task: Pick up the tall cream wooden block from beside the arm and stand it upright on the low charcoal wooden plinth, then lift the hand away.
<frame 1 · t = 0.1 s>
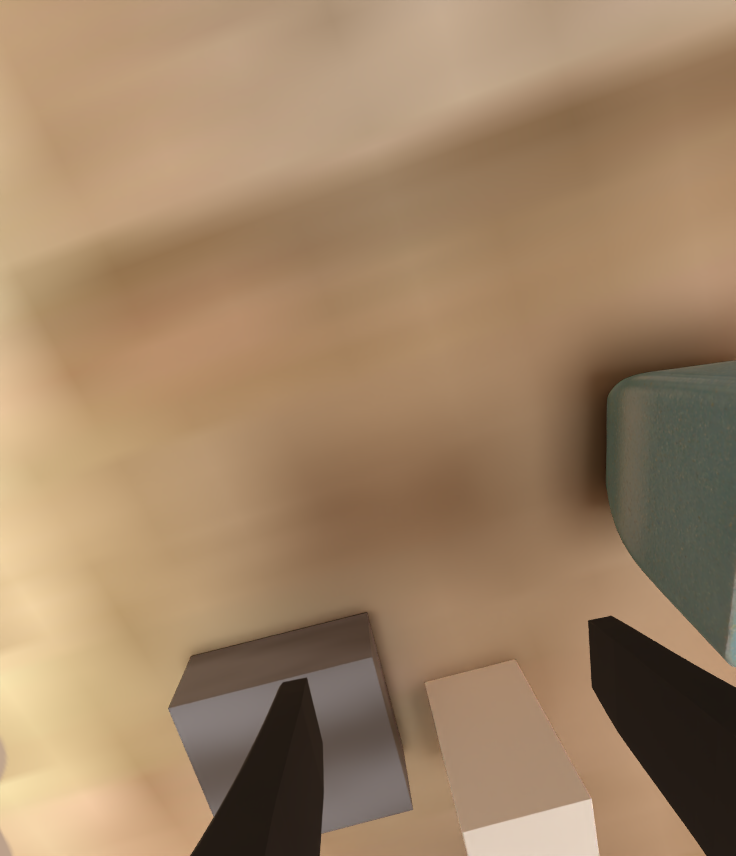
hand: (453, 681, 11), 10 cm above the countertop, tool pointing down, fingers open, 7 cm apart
flower pot: (652, 435, 21), on the countertop
cream block: (477, 707, 23), on the countertop
charcoal plinth: (302, 705, 22), on the countertop
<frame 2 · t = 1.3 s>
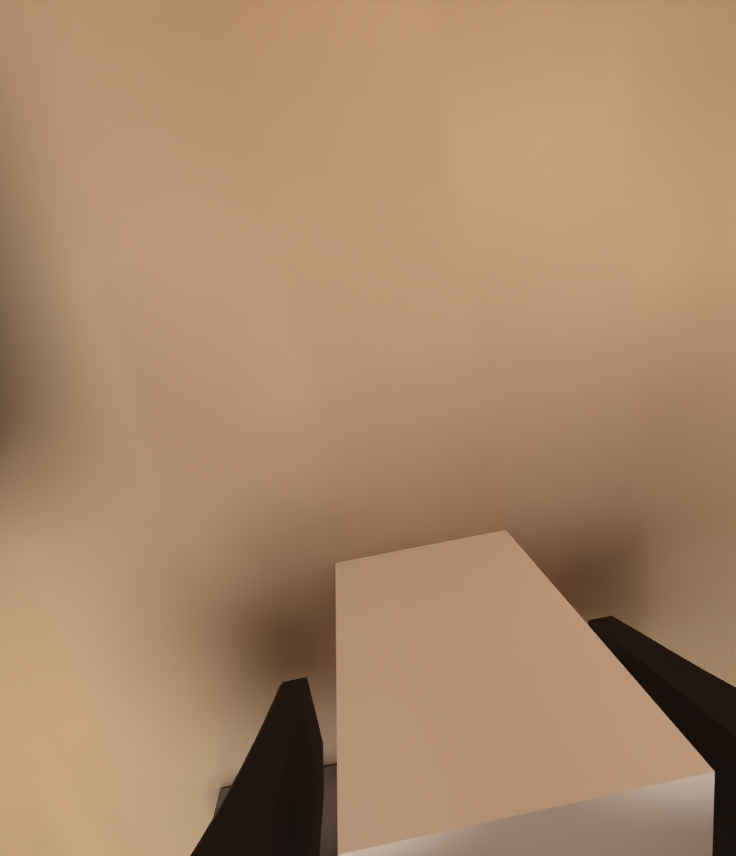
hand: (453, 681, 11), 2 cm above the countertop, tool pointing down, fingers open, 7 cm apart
cream block: (432, 619, 13), on the countertop
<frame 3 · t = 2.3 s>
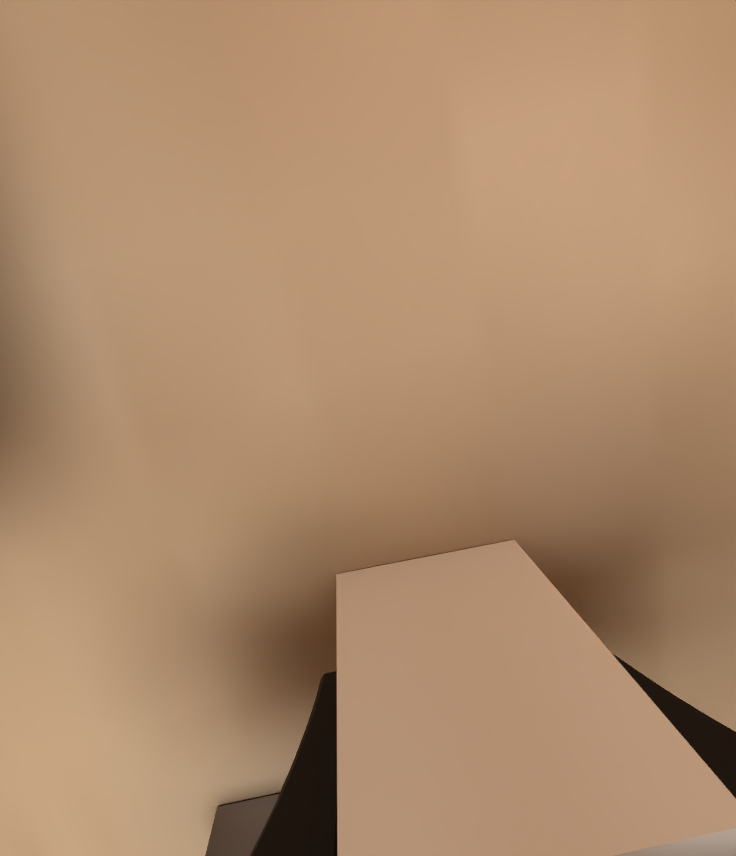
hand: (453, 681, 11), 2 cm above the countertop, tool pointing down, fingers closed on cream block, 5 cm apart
cream block: (437, 633, 12), on the countertop, touching gripper
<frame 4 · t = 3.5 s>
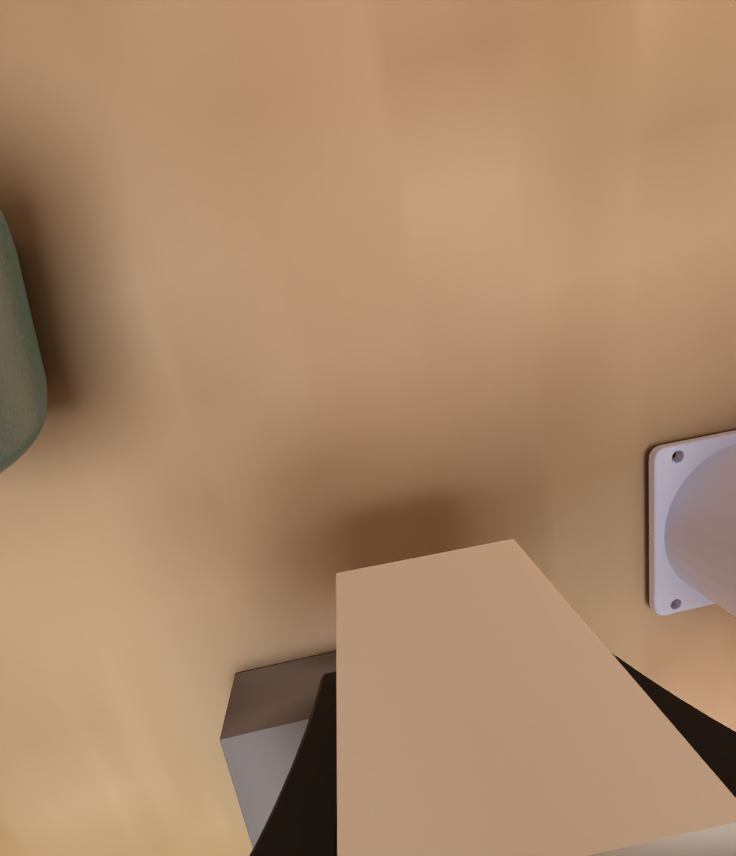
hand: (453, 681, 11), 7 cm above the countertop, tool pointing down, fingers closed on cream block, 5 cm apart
cream block: (437, 632, 12), point 5 cm above the countertop, touching gripper
charcoal plinth: (358, 733, 19), on the countertop
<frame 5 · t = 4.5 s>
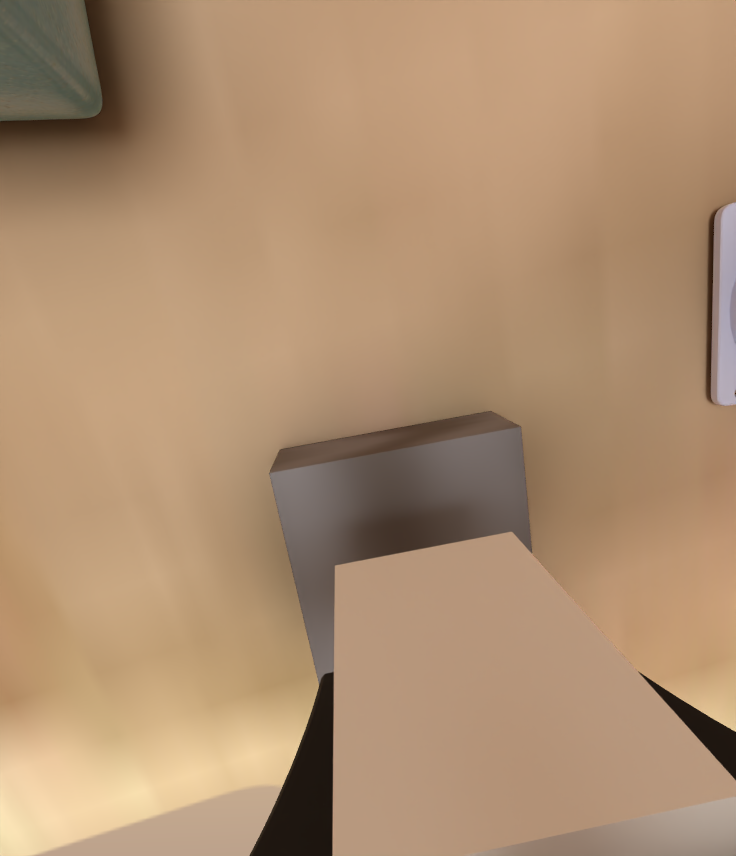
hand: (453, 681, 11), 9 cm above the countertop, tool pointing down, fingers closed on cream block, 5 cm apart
flower pot: (17, 36, 14), on the countertop
cream block: (435, 626, 12), point 7 cm above the countertop, touching gripper
charcoal plinth: (402, 527, 19), on the countertop
when the fingers open (6 cm above the countertop, at t = 5.8 s): cream block drops 1 cm, resting on charcoal plinth.
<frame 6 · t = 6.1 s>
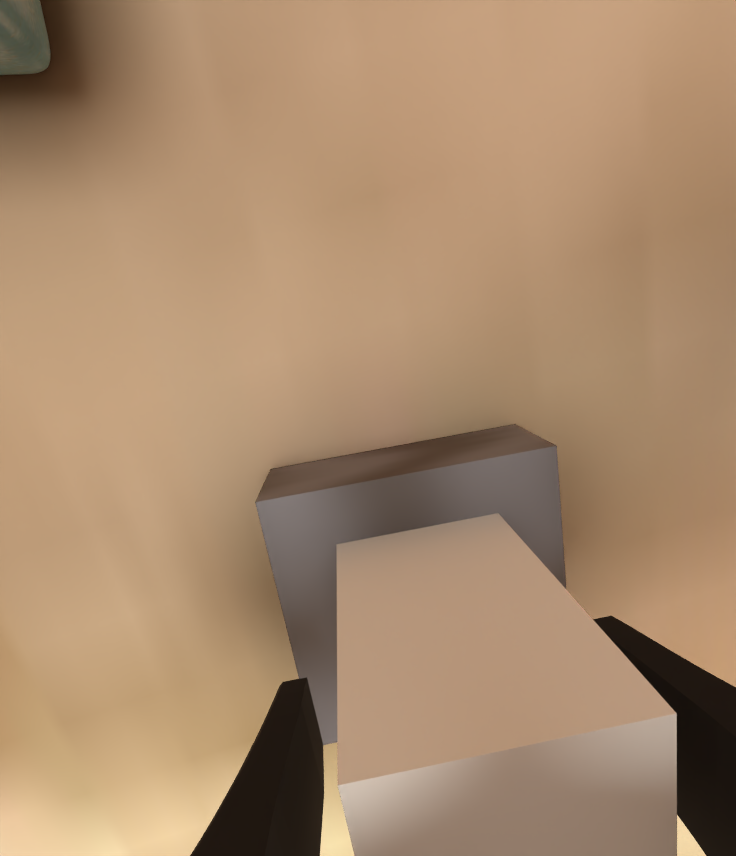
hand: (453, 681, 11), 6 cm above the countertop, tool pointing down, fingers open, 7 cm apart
cream block: (429, 600, 14), point 3 cm above the countertop, touching charcoal plinth
charcoal plinth: (411, 557, 16), on the countertop
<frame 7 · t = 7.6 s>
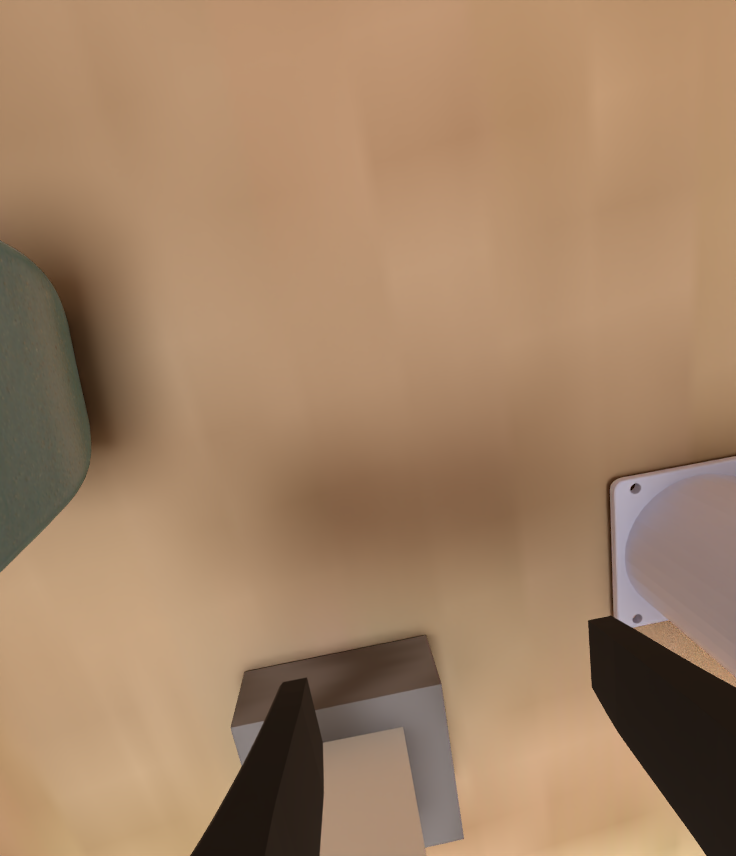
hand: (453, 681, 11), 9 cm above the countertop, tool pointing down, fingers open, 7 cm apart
flower pot: (20, 374, 17), on the countertop
cream block: (354, 782, 19), point 3 cm above the countertop, touching charcoal plinth
charcoal plinth: (351, 726, 22), on the countertop
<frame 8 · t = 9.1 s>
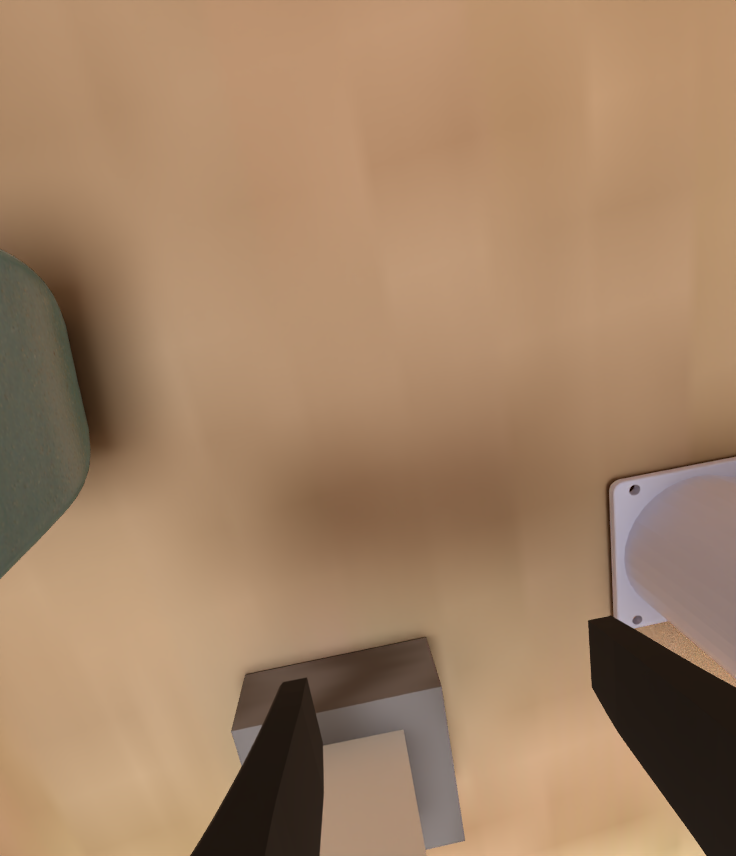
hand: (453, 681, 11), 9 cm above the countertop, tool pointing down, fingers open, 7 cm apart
flower pot: (19, 379, 17), on the countertop
cream block: (355, 785, 19), point 3 cm above the countertop, touching charcoal plinth
charcoal plinth: (352, 728, 22), on the countertop
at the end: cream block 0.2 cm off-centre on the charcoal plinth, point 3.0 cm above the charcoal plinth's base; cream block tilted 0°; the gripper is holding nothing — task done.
